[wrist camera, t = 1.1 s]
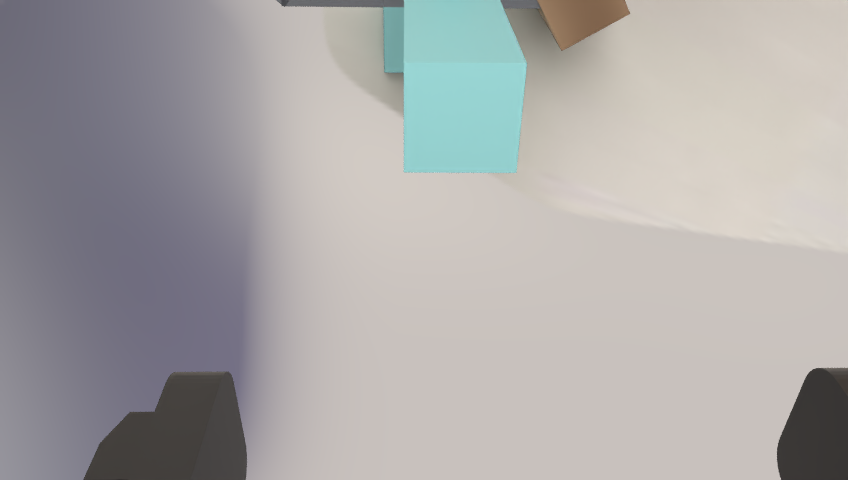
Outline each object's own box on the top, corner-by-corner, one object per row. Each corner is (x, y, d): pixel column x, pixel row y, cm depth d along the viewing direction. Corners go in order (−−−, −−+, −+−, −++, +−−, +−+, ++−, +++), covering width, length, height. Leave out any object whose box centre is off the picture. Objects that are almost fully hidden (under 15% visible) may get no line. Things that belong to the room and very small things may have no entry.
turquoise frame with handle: (496, -159, 31) (588, -94, 15) (482, 64, 36) (539, 277, 21) (381, -161, 30) (356, -97, 15) (384, 64, 36) (369, 278, 21)
